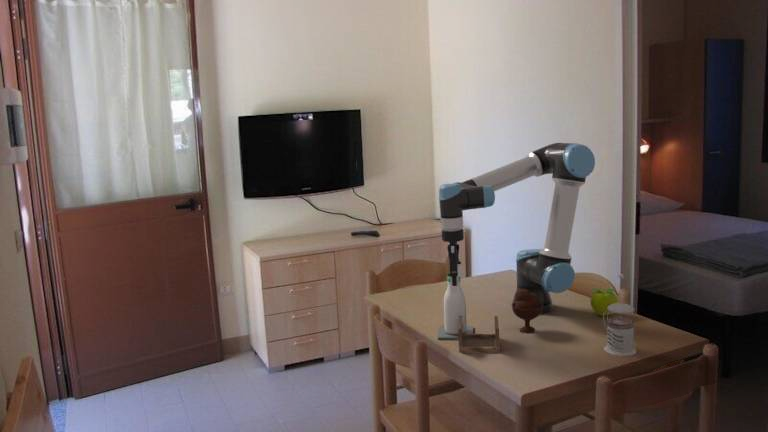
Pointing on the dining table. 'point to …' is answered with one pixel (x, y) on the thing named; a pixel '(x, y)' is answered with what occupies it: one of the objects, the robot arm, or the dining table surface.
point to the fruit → (602, 301)
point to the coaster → (445, 336)
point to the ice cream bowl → (527, 308)
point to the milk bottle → (454, 310)
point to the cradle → (479, 336)
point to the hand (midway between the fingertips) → (455, 288)
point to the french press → (620, 330)
